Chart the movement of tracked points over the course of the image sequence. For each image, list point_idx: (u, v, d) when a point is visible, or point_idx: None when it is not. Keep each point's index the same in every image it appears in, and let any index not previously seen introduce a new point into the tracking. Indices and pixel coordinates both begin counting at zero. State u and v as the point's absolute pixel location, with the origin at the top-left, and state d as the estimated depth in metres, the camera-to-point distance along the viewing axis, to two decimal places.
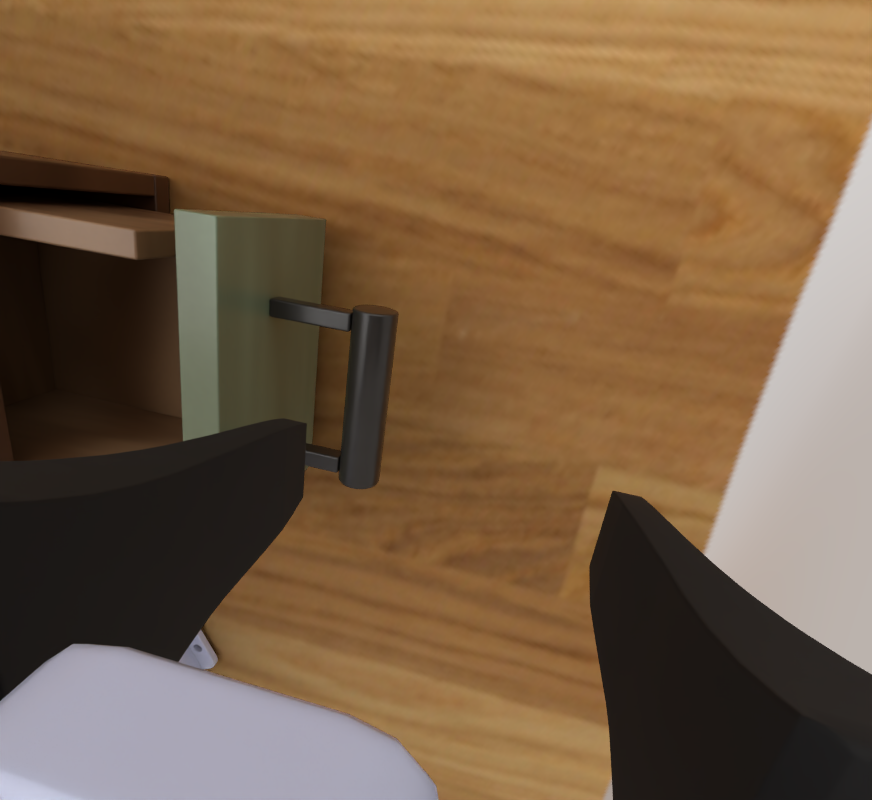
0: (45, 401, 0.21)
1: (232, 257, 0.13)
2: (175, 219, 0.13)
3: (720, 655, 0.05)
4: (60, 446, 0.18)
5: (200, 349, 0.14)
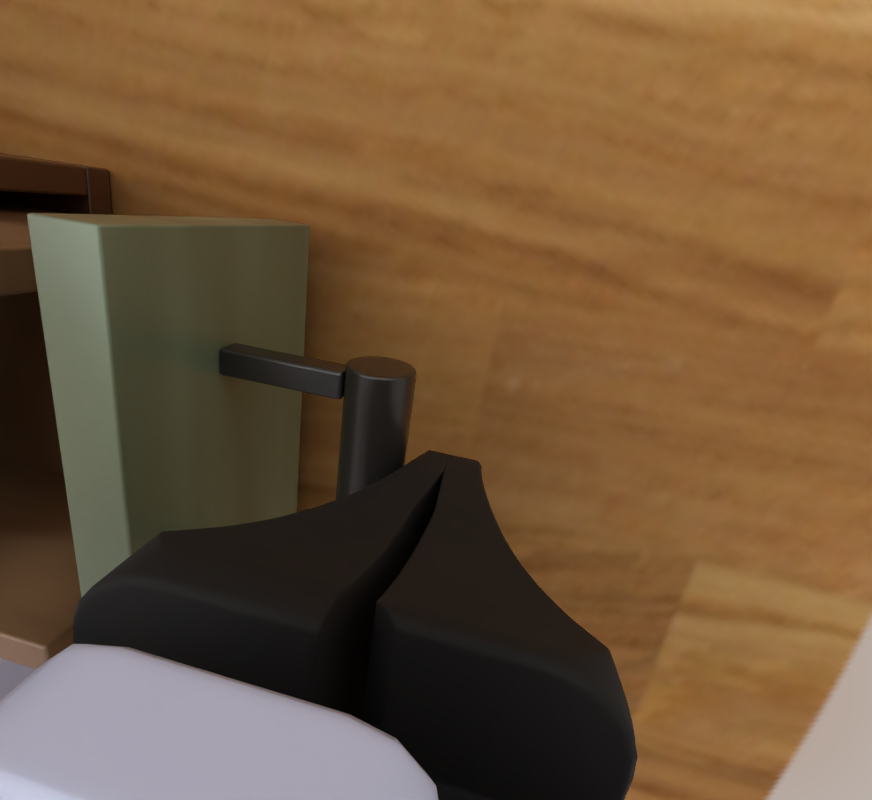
0: None
1: (140, 293, 0.08)
2: (30, 231, 0.07)
3: (404, 574, 0.06)
4: None
5: (92, 445, 0.08)
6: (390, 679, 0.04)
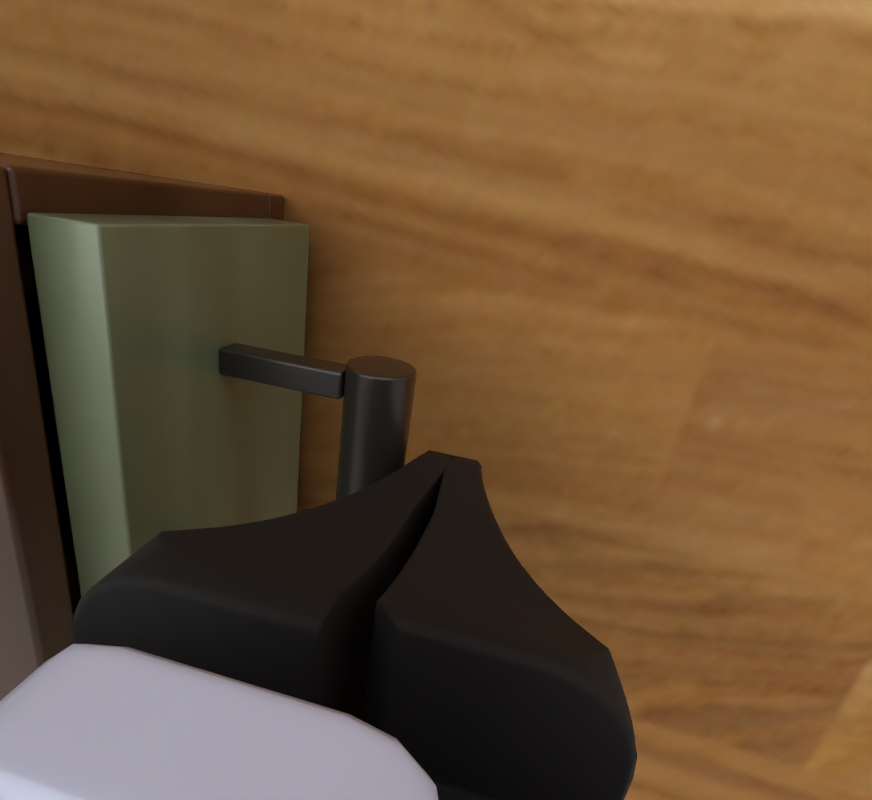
0: None
1: (139, 293, 0.08)
2: (30, 231, 0.07)
3: (403, 574, 0.06)
4: None
5: (91, 445, 0.08)
6: (390, 679, 0.04)
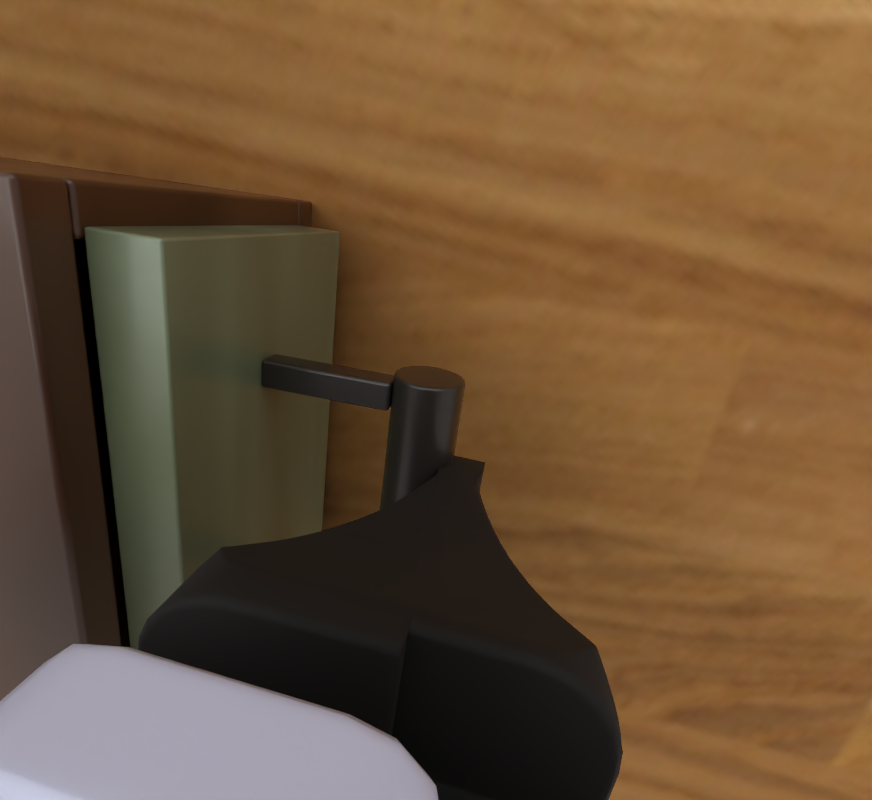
0: None
1: (195, 307, 0.08)
2: (87, 246, 0.07)
3: (394, 571, 0.06)
4: None
5: (145, 464, 0.08)
6: (376, 676, 0.04)
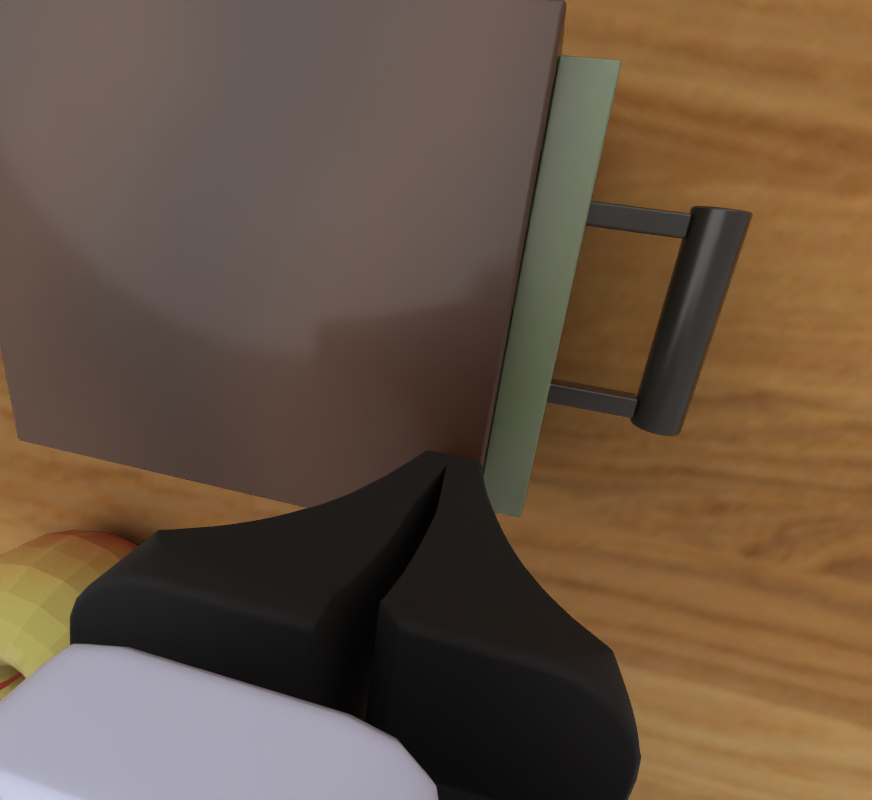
0: None
1: None
2: (559, 69, 0.10)
3: (406, 575, 0.06)
4: None
5: (555, 247, 0.11)
6: (392, 680, 0.04)
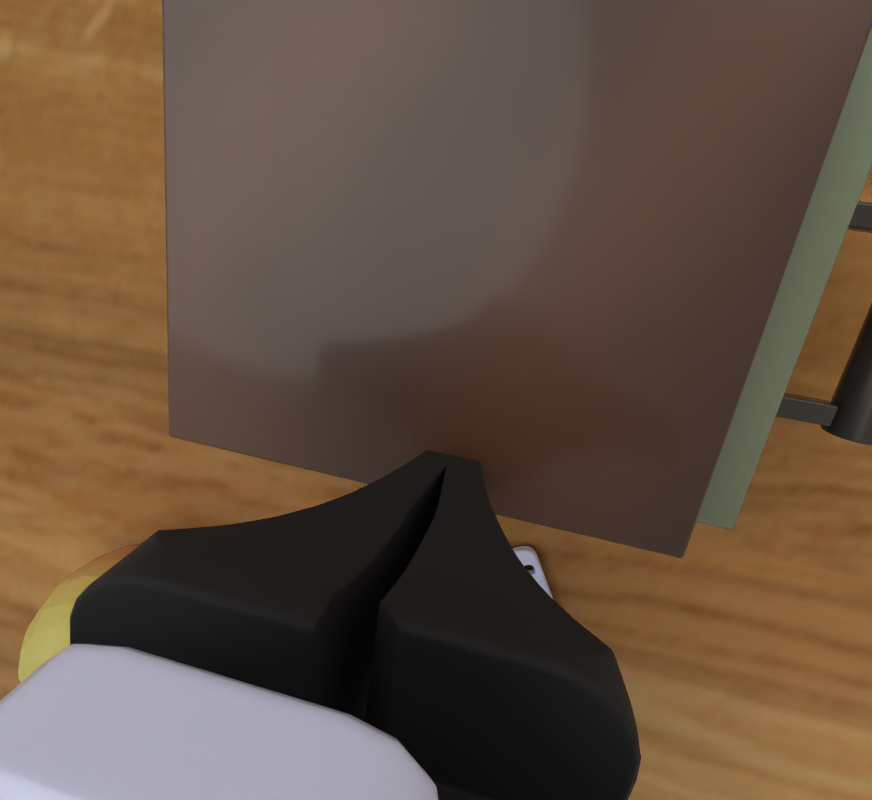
0: None
1: None
2: None
3: (406, 575, 0.06)
4: None
5: (816, 234, 0.10)
6: (392, 680, 0.04)
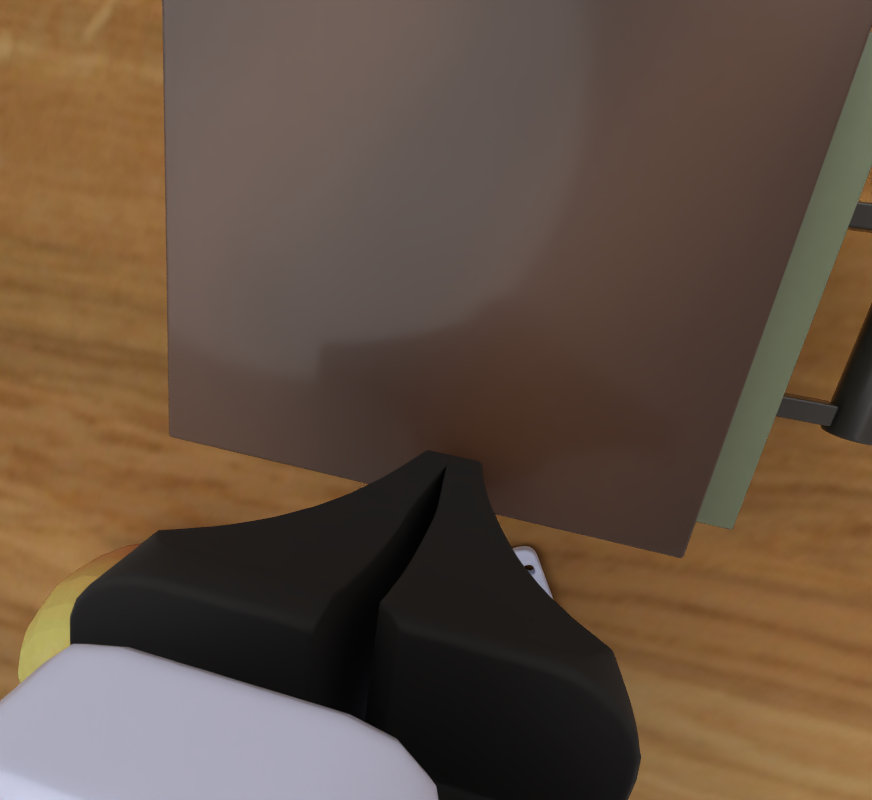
0: None
1: None
2: None
3: (406, 575, 0.06)
4: None
5: (816, 234, 0.10)
6: (392, 680, 0.04)
